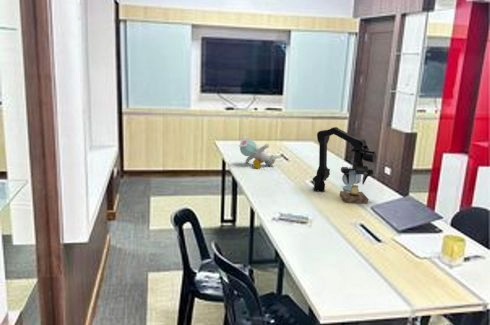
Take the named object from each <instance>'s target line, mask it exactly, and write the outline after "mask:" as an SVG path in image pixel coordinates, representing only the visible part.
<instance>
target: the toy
mask: <svg viewBox="0 0 490 325" xmlns="http://www.w3.org/2000/svg"><path fill="white" fill-rule="evenodd" d="M238 147H239V150H240V153H241V154H242V155H243V156H244V157H247V158H246V159H245V163H246V164H248V163H250V162H251V161H252V160H253V159H254V160H253V161H252V164H253V167H255V168H256V169H257V170H259V169H261V168H262V165H261V164H263V163H264V164H265V165H267V166H269V167H271V166H272V165H274V163H275V162H276V159H277V157H276V155H273V154H271V155H270V156H269V154H268V152H265V150H267V149H268V148H270V145H269V143H264V145H263V146H262V145H261V147H260V148H259V147H257V144H256V143H255V142H254V141H253V140H252V139H250V138H249V137H247V138H242V139H241V140H240V143H239V145H238Z"/></svg>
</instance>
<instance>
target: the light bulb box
mask: <svg viewBox="0 0 490 325" xmlns="http://www.w3.org/2000/svg"><path fill="white" fill-rule="evenodd" d="M352 166H353V164H352V165H351V166H349V167H348V168H349V169H352ZM354 171H355V170H354ZM353 173H354V174H355V175H356V178H357V179H356V182H355V184H358V183H360V182H361V181H362V176H363V175H362V174H356V172H353Z"/></svg>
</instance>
